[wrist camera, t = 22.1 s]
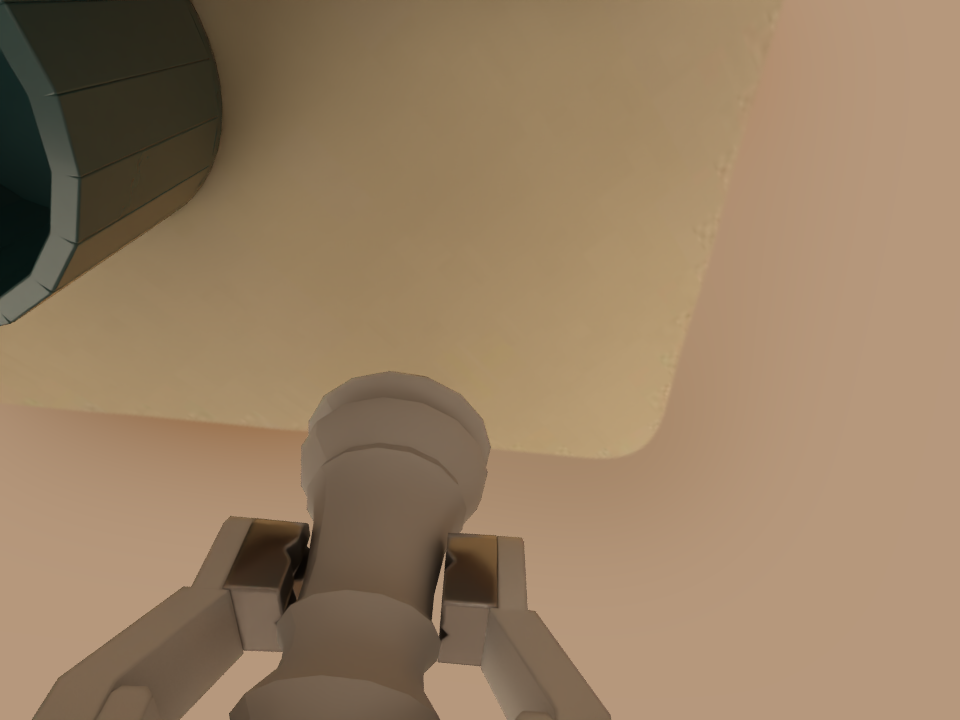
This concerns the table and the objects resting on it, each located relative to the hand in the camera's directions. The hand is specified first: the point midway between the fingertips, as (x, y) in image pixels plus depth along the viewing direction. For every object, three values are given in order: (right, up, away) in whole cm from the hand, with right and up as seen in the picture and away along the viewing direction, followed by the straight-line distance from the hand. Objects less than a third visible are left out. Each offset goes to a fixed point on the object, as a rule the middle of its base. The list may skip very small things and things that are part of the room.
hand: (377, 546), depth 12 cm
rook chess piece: (0, +2, +3) cm, 4 cm away
